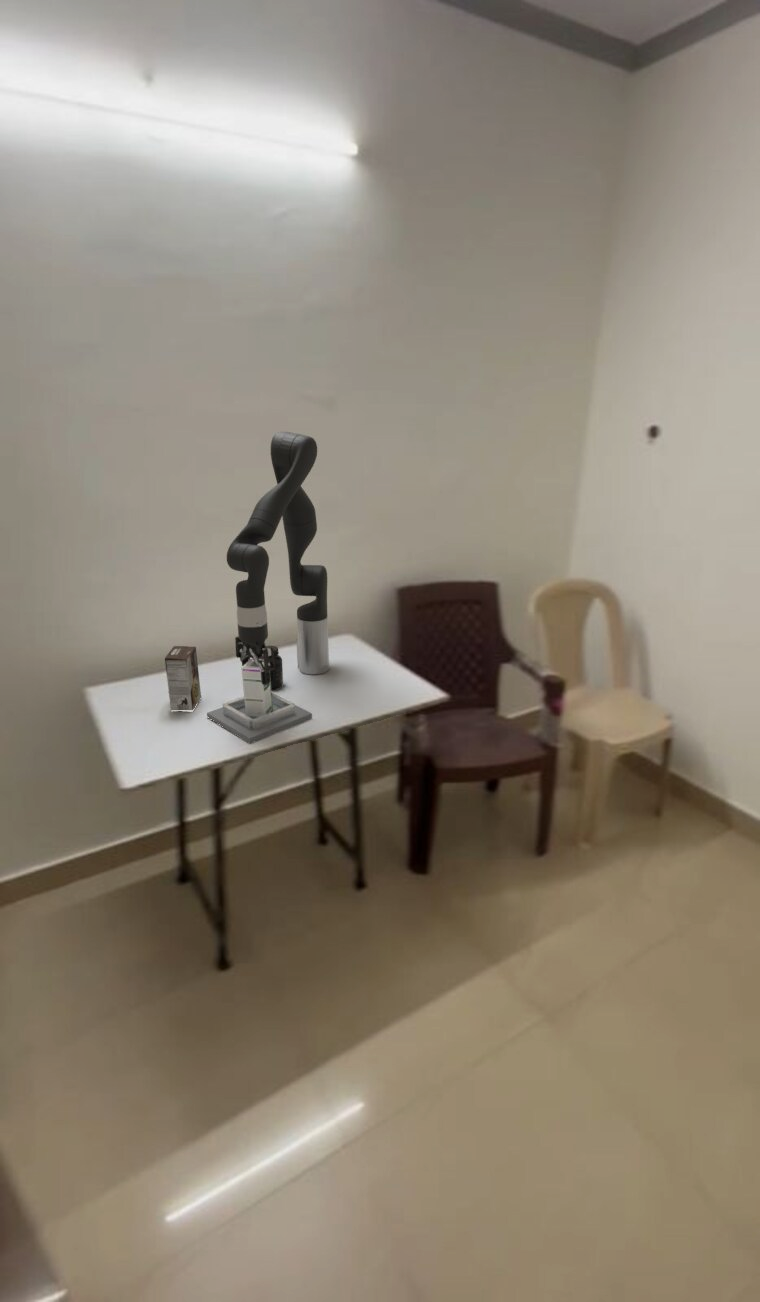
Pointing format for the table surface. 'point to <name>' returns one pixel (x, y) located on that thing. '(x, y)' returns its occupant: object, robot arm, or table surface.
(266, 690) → the syrup box
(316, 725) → the table surface
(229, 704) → the frame
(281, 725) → the plate
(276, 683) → the supplement bottle
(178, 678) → the coffee box
